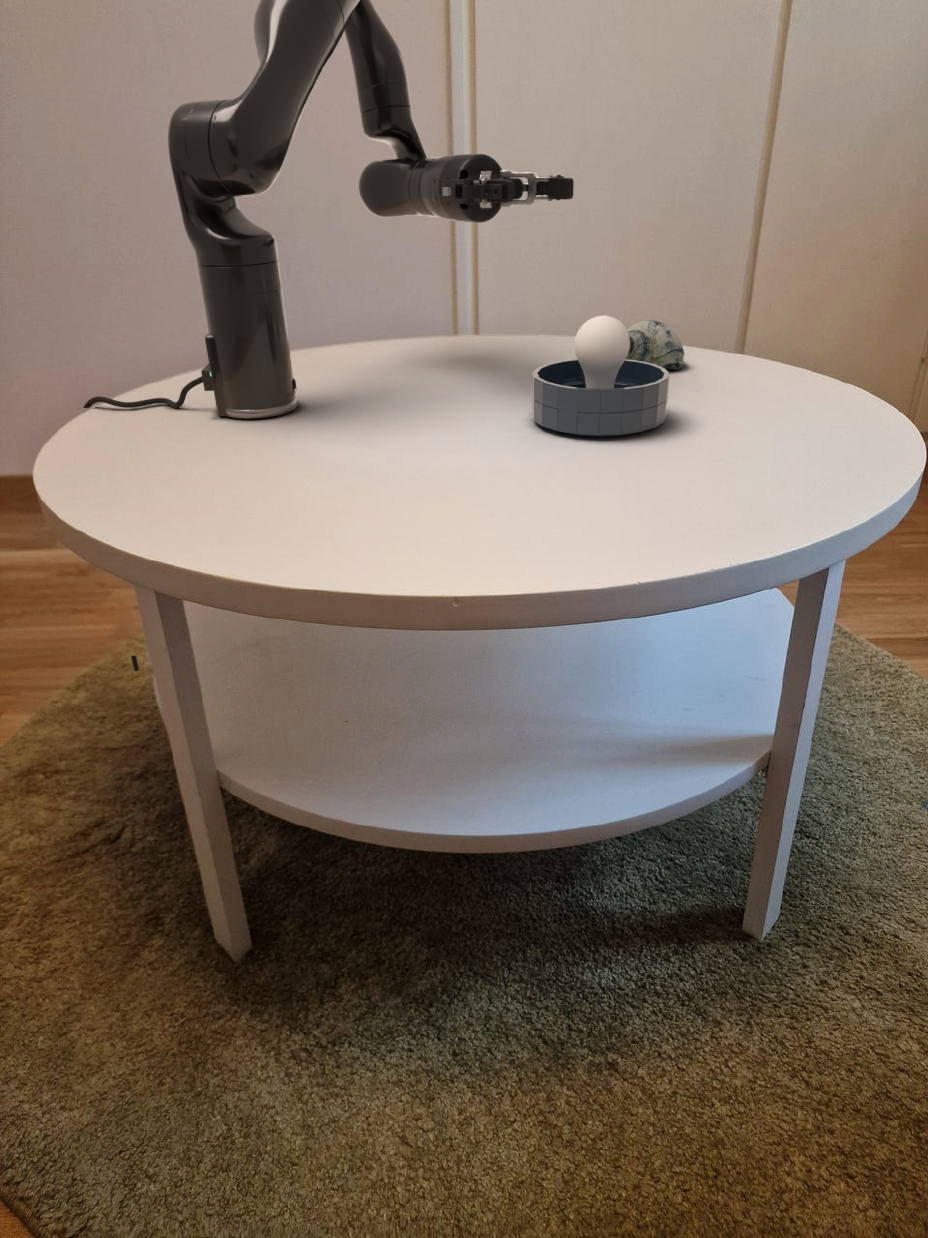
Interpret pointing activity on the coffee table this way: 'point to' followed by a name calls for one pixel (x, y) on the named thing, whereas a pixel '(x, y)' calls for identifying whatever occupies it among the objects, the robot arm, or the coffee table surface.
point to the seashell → (655, 344)
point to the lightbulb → (601, 350)
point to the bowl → (599, 399)
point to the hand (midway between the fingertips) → (541, 189)
